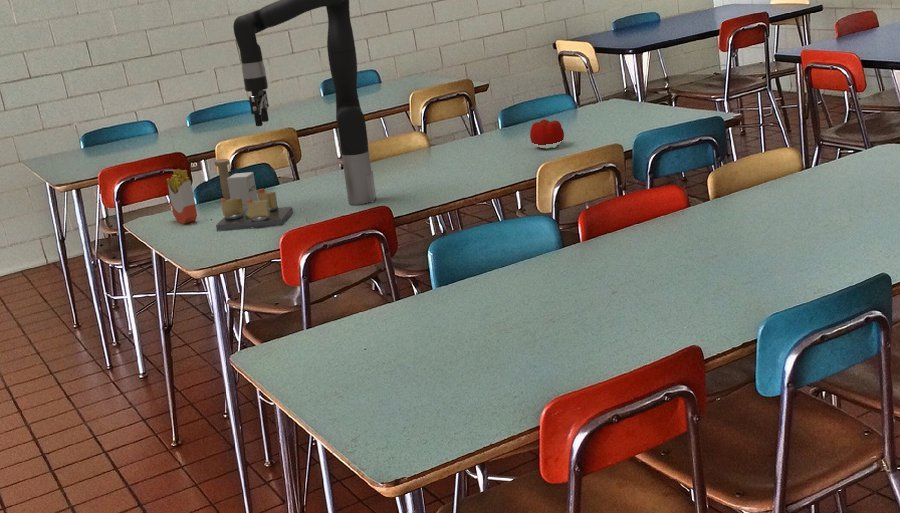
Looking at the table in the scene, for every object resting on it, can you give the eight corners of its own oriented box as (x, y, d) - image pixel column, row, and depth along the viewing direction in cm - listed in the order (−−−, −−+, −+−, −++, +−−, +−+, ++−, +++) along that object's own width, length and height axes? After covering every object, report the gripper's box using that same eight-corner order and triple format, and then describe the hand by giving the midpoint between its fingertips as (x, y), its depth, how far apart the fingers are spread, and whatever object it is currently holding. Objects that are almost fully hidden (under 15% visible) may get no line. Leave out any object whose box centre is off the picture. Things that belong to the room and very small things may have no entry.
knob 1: (240, 213, 353) (237, 193, 351) (246, 216, 348) (242, 196, 346) (222, 217, 350) (218, 198, 348) (227, 220, 345) (223, 200, 343)
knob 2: (282, 207, 354) (278, 188, 352) (268, 212, 349) (265, 192, 347) (269, 206, 358) (266, 187, 356) (256, 211, 353) (252, 191, 351)
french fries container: (186, 225, 355) (176, 173, 349) (173, 220, 363) (163, 170, 358) (198, 222, 357) (188, 170, 352) (185, 217, 366) (175, 167, 360)
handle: (225, 203, 380) (217, 163, 376) (220, 200, 386) (212, 160, 381) (237, 200, 382) (230, 160, 378) (232, 197, 388) (225, 158, 383)
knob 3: (272, 215, 344) (268, 195, 343) (267, 220, 339) (264, 200, 337) (253, 217, 345) (249, 197, 343) (248, 222, 339) (244, 202, 337)
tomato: (566, 149, 403) (564, 122, 400) (532, 152, 404) (530, 126, 401) (563, 142, 416) (561, 116, 413) (530, 146, 417) (527, 120, 414)
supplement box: (252, 212, 362) (246, 176, 359) (232, 213, 364) (226, 178, 360) (259, 206, 369) (253, 171, 366) (240, 207, 371) (234, 173, 367)
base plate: (292, 212, 355) (291, 200, 354) (282, 225, 340) (280, 213, 339) (230, 218, 357) (228, 206, 356) (216, 231, 342) (214, 219, 341)
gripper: (260, 77, 341) (268, 126, 346) (270, 71, 355) (278, 119, 359) (238, 79, 342) (246, 128, 346) (249, 74, 355) (256, 121, 360)
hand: (262, 123), depth 353 cm, fingers open, 8 cm apart
